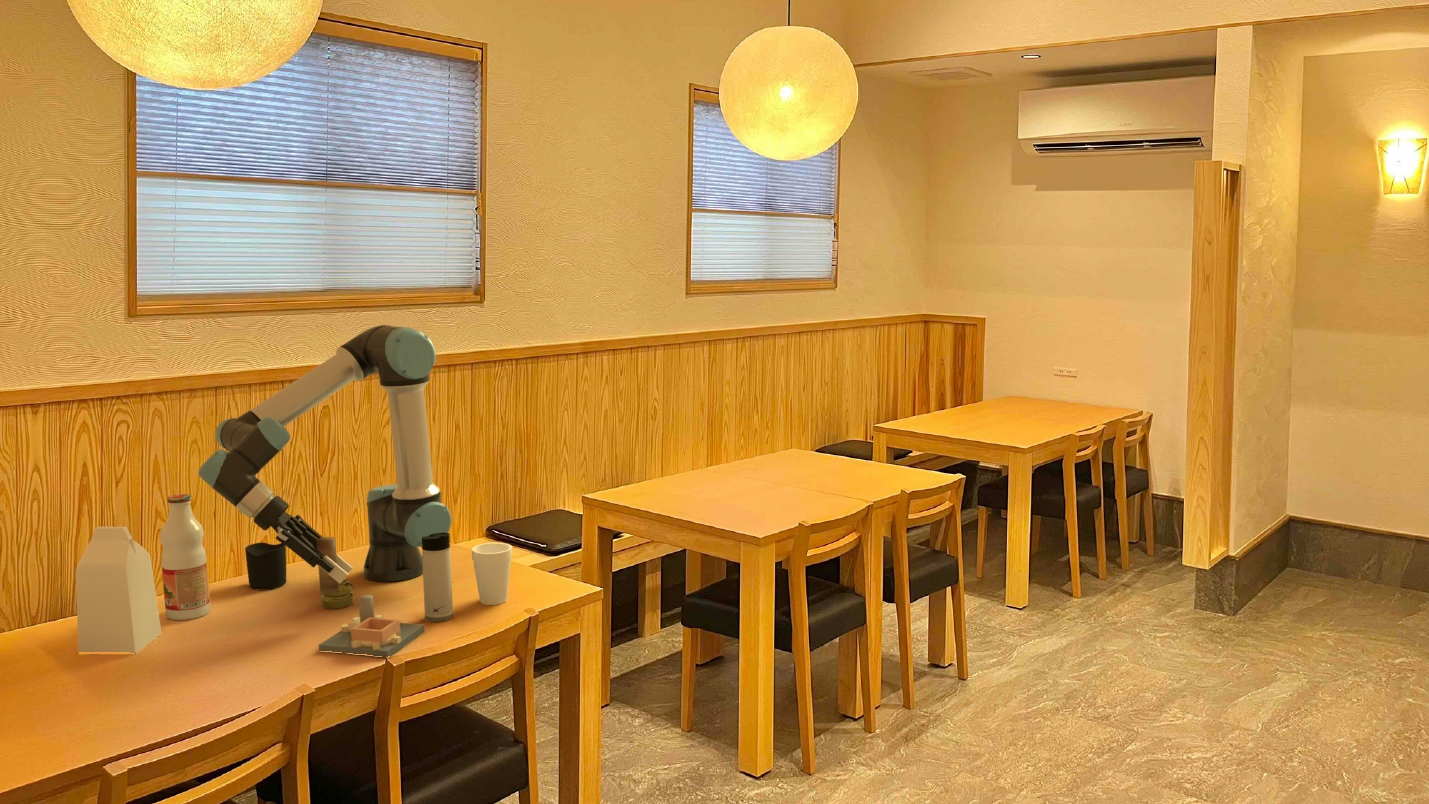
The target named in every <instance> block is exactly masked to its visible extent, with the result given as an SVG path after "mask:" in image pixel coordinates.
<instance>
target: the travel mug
mask: <svg viewBox="0 0 1429 804" xmlns="http://www.w3.org/2000/svg"><path fill="white" fill-rule="evenodd" d="M450 542H451V537H450V532H448V533H435V534H430V536H426V537H425V536H424V537H422V547H421V551H422V552H421V555H422V561H423V574H422V578H423V580H422V585H423V602H424V603H423V604H424V619H425V620H426V621H428V622H430V623H441V622H442V623H443V622H447V621H449V620H452V618H453V617H454V611H453V610H454V609H453V607H454V606H453V586H452V585H453V581H452V580H453V578H452V557H451V554H452V552H451V543H450Z"/></svg>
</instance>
